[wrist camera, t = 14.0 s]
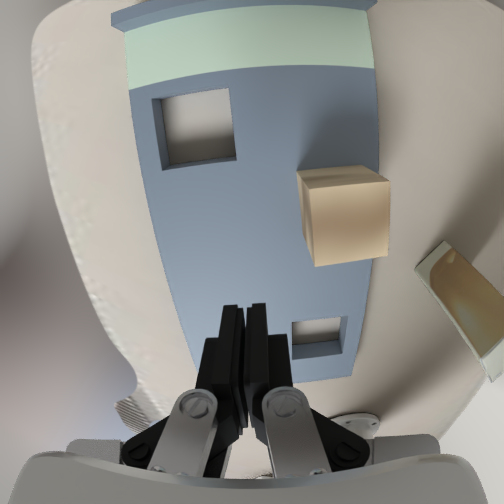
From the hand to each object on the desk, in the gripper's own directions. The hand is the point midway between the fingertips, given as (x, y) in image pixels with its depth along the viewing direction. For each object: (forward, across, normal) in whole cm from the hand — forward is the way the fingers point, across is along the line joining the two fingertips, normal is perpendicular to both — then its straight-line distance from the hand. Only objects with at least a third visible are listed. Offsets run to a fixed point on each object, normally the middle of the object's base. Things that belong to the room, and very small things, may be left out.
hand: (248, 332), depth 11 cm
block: (+10, -6, -2) cm, 11 cm away
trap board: (+12, -1, 0) cm, 12 cm away
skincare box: (+12, -18, +6) cm, 23 cm away
